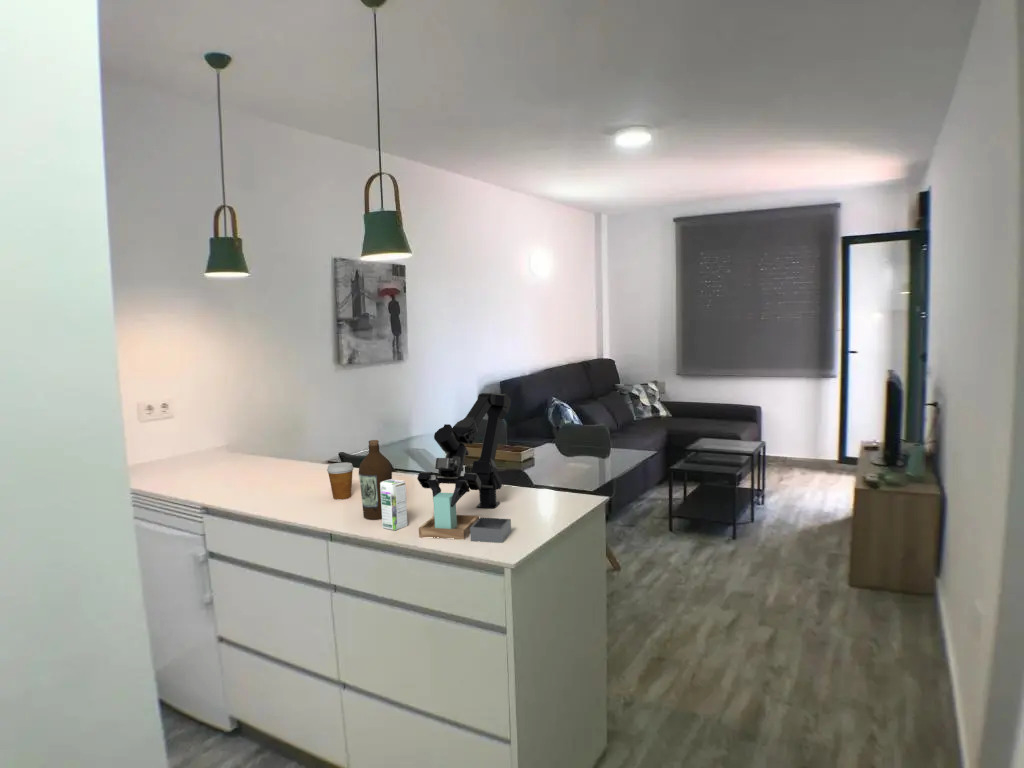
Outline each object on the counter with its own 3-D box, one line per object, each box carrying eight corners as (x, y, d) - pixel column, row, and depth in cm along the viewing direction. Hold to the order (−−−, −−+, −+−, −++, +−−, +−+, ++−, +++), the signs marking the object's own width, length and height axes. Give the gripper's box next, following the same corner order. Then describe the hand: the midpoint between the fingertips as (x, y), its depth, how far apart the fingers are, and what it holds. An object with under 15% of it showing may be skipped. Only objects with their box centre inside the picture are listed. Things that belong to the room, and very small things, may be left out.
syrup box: (381, 528, 207) (378, 482, 206) (395, 522, 212) (392, 478, 211) (395, 531, 204) (392, 484, 202) (408, 525, 209) (405, 479, 207)
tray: (437, 522, 211) (436, 513, 210) (479, 524, 207) (479, 515, 206) (419, 537, 197) (418, 528, 197) (464, 539, 193) (463, 530, 193)
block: (441, 524, 202) (439, 492, 201) (457, 525, 201) (455, 493, 200) (435, 530, 197) (433, 497, 196) (451, 531, 196) (449, 497, 195)
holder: (481, 530, 201) (480, 517, 201) (511, 532, 199) (510, 518, 198) (470, 541, 192) (470, 527, 192) (502, 542, 190) (501, 529, 189)
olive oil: (376, 509, 228) (371, 436, 225) (401, 512, 223) (396, 438, 220) (354, 518, 219) (349, 442, 216) (380, 522, 213) (375, 444, 211)
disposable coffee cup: (323, 498, 245) (321, 465, 244) (346, 492, 252) (344, 461, 251) (337, 502, 239) (335, 469, 237) (360, 496, 245) (358, 464, 244)
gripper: (417, 445, 203) (404, 491, 193) (476, 446, 198) (465, 493, 188) (429, 465, 211) (417, 509, 202) (485, 466, 206) (476, 512, 197)
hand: (443, 505), depth 197 cm, fingers closed on block, 5 cm apart
